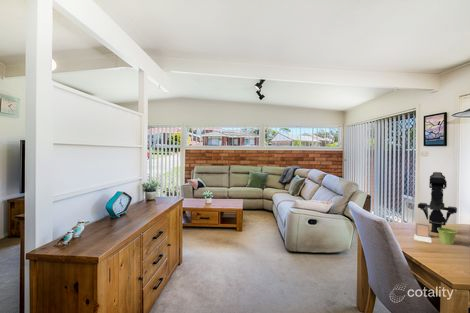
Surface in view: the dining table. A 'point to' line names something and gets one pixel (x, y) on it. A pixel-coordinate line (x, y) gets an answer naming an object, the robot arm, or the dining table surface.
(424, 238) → the white rectangular board
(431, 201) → the robot arm
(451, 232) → the plant pot
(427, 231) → the slate tile
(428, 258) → the dining table surface
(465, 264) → the dining table surface
